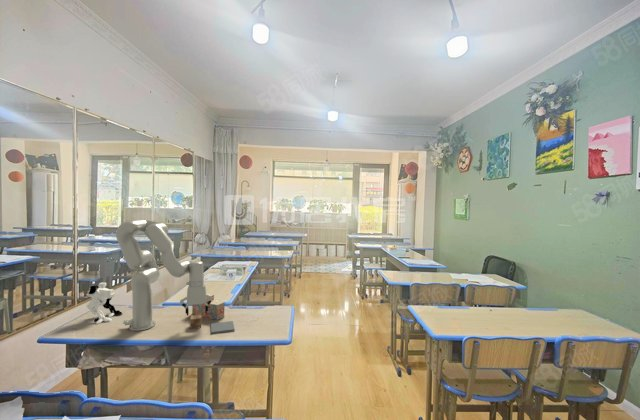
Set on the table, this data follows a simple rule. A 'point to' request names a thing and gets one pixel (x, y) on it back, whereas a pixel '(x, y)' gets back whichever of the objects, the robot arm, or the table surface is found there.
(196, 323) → the walnut cube
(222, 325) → the mat
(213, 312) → the stack of blocks
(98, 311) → the robot toy
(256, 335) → the table surface
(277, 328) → the table surface
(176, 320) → the table surface
